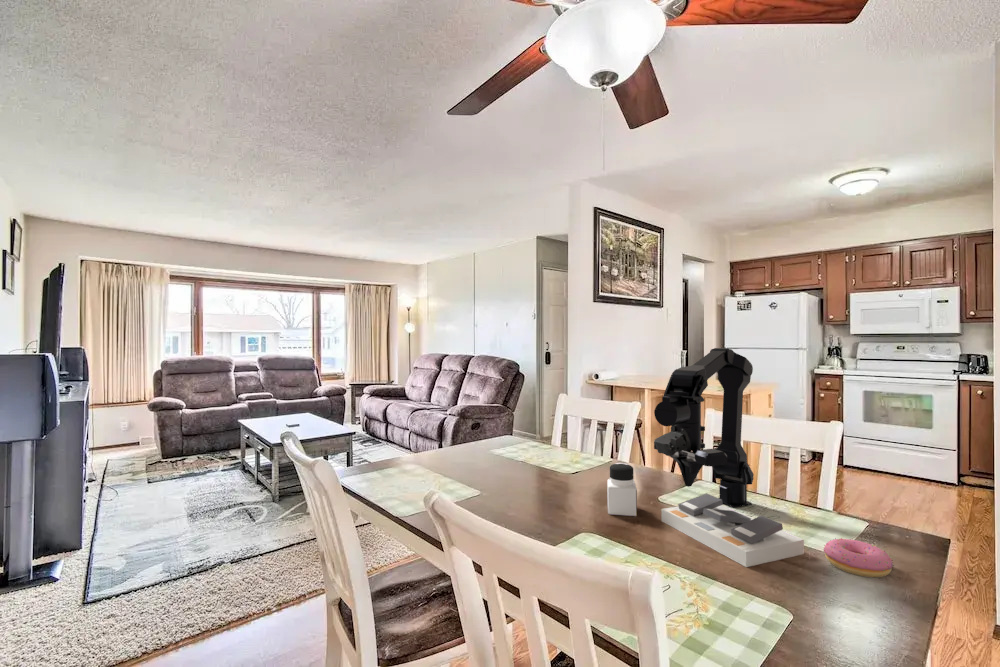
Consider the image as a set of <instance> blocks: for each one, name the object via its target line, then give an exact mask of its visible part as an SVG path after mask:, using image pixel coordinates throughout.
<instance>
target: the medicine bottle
mask: <svg viewBox="0 0 1000 667" xmlns="http://www.w3.org/2000/svg"><path fill="white" fill-rule="evenodd" d="M634 479H635V478H634V467H633V466H632V465H630V464H628V463H622V462H621V463H620V462H617V463H613V464H610V465H609V478H608V479H607V480H606V481H607V482H606V483H607V484H606V488H607V493H606V494H607V514H608V515H611V516H613V515H615V516H627V517H629V516H630V517H637V516H638V496H637V495H638V493H637V492H638V489H637V486H636V482H635V480H634Z"/></svg>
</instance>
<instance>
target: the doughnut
mask: <svg viewBox="0 0 1000 667" xmlns="http://www.w3.org/2000/svg"><path fill="white" fill-rule="evenodd" d="M823 545H824V547H823V553H824V556H825V558H826V559H827V562H829V563H830V564H831V565H832V566H834V567H836V569H839V570H841V571H844V572H846V573H849V574H852V575H855V576H860V577H865V578H883V577H886V576H888V575H889V574H890V573H892V569H893V567H894V566H895V565H894V562H893V561H894V560H893V559H891V557H890V556H889V554H888V553H887V552H886V550H883V549H882V548H879V547H878V546H876V545H875V544H871V543H868V542H865V541H862V540H861V541H860V540H856V539H852V538H842V537H841V538H836V537H835V538H834V539H830V540H828V541H827V542H826V543H825V544H823Z"/></svg>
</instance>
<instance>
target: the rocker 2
mask: <svg viewBox="0 0 1000 667" xmlns="http://www.w3.org/2000/svg"><path fill="white" fill-rule="evenodd" d="M783 528H784V527H783V523H781V522H778V521H776V520H774V519H772V518H768V517H766V516H764V515H760V516H758V517H755V518H754V519H753V520H750V521H748V522H746V523H744V524H742V525H739V526H737V527H735V528H733V529H731V533H732V535H733V536H736V537H738V538H740V539H742V540H744V541H746V542H748V543H750V544H753V543H755V542H757V541H759V540H762V539H764V538H766V537H768V536H770V535H772V534H774V533H776V532H778V531H780V530H782V531H784V529H783Z"/></svg>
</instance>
